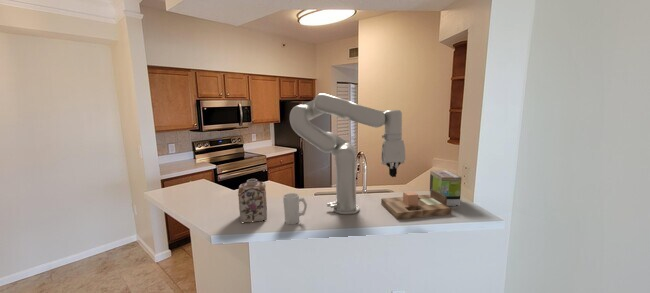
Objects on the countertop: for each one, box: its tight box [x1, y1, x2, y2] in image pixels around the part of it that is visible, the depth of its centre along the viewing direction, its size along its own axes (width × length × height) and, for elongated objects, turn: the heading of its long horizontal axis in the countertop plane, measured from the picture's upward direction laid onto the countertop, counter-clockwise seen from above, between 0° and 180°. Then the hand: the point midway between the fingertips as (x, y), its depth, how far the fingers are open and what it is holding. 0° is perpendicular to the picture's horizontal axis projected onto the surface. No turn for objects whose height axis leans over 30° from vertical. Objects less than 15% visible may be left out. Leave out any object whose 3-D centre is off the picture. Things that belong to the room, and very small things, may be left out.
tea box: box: [429, 170, 462, 207], centre depth 134 cm, size 15×10×15 cm, turn 179°
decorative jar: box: [237, 178, 268, 224], centre depth 120 cm, size 12×12×18 cm
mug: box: [282, 192, 308, 225], centre depth 115 cm, size 10×7×12 cm, turn 90°
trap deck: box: [380, 189, 452, 220], centre depth 125 cm, size 26×19×7 cm
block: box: [402, 190, 419, 206], centre depth 125 cm, size 5×5×5 cm
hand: (392, 176), depth 122 cm, fingers closed
